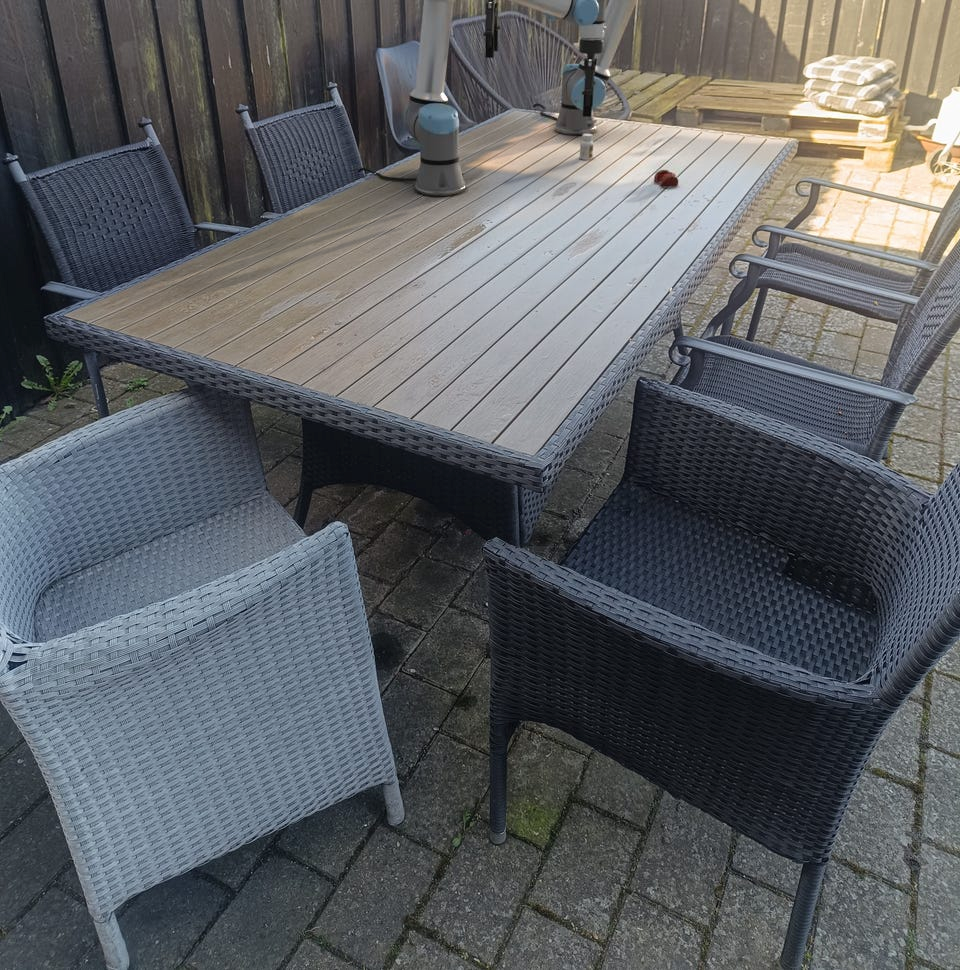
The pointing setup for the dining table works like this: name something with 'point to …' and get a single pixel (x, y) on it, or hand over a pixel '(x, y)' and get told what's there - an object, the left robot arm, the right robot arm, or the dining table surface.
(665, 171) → the dark red rounded lump
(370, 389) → the dining table surface
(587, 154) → the pill bottle
